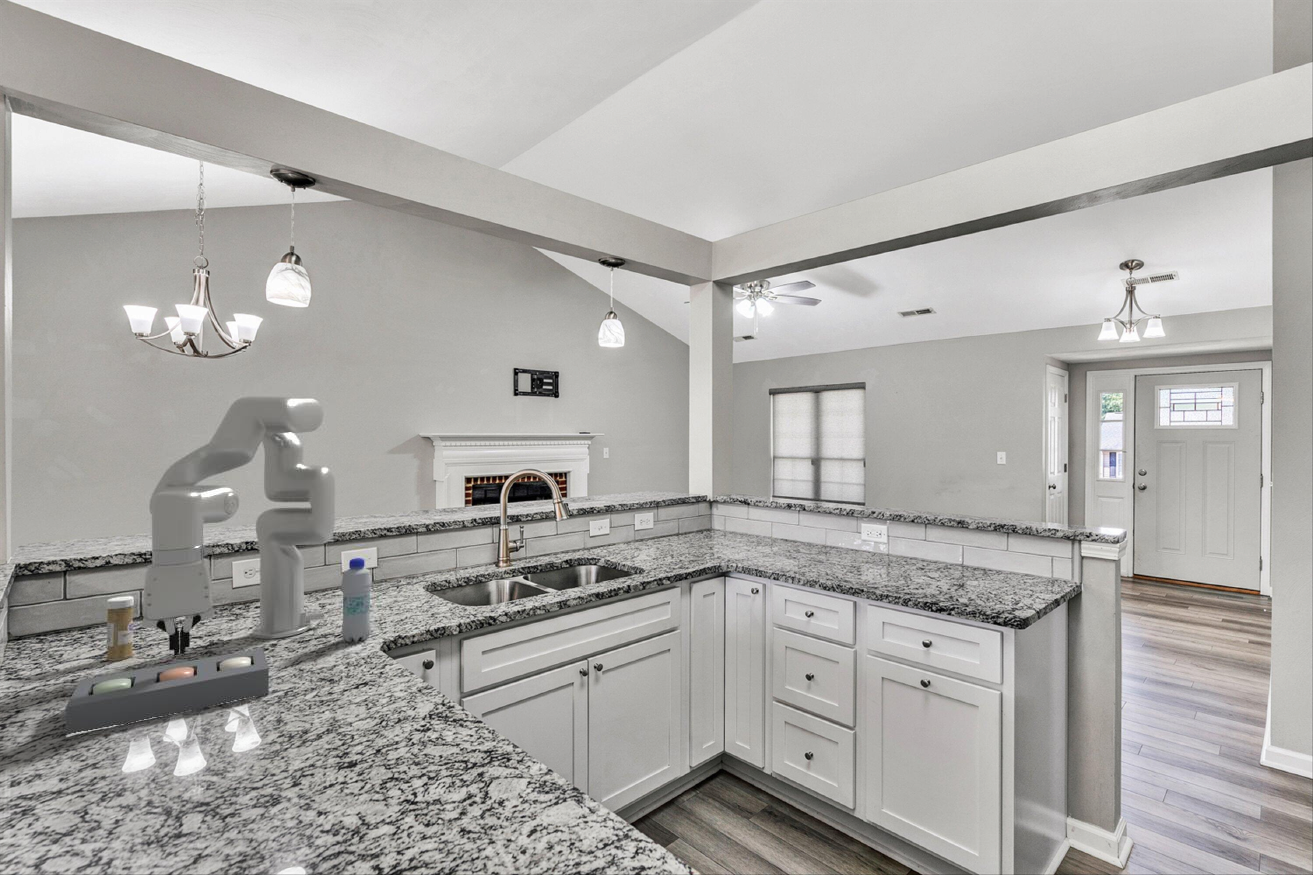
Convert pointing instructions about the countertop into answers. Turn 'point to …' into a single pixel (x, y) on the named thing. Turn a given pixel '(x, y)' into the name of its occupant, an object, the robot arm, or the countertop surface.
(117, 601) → the sprinkles bottle
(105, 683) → the sage button
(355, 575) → the bottle
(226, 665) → the cream button
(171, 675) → the terracotta button
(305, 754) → the countertop surface
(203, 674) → the button box
